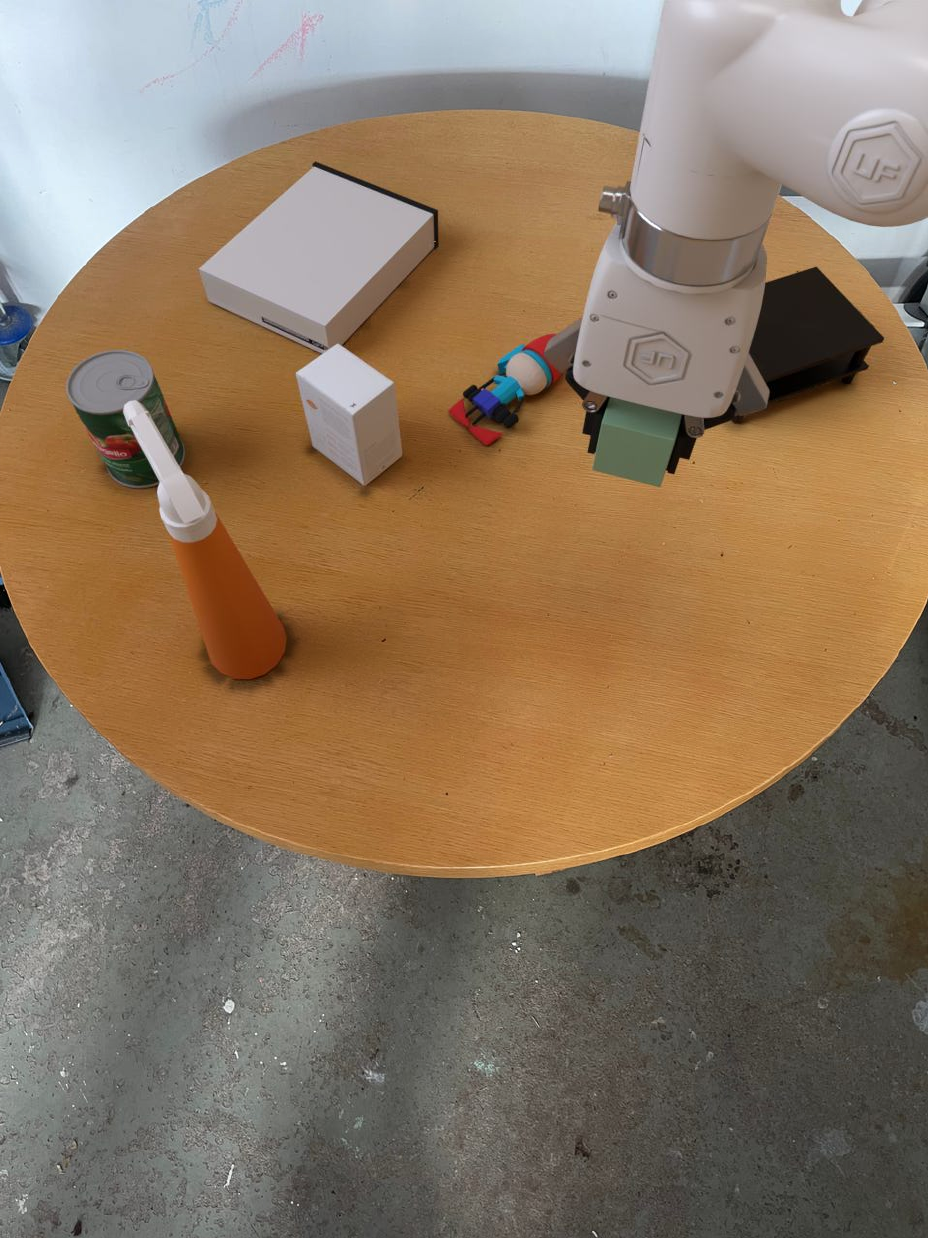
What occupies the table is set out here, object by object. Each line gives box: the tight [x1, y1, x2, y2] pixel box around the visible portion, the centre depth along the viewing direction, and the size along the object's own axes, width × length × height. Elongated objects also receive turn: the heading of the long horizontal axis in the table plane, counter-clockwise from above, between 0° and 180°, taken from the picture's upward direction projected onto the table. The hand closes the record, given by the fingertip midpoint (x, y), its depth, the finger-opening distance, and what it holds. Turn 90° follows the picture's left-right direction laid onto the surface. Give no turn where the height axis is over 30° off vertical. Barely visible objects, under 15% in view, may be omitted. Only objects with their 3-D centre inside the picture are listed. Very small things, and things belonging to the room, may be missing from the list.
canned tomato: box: [65, 349, 186, 489], centre depth 84 cm, size 8×8×11 cm
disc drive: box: [198, 161, 440, 355], centre depth 101 cm, size 18×22×5 cm
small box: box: [295, 344, 403, 487], centre depth 85 cm, size 8×6×10 cm
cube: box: [591, 397, 682, 488], centre depth 61 cm, size 5×5×5 cm
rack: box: [731, 266, 885, 425], centre depth 92 cm, size 16×12×8 cm
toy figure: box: [448, 333, 563, 447], centre depth 92 cm, size 8×5×15 cm
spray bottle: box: [123, 400, 288, 680], centre depth 68 cm, size 7×11×26 cm, turn 33°
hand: (635, 447), depth 62 cm, fingers closed on cube, 5 cm apart
